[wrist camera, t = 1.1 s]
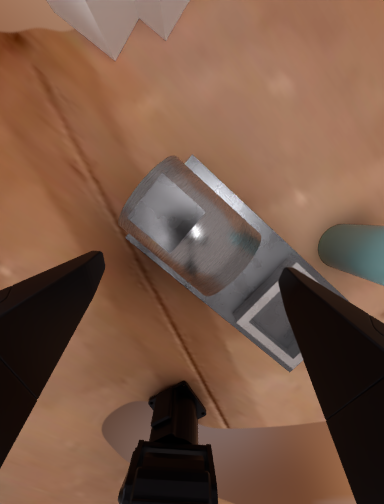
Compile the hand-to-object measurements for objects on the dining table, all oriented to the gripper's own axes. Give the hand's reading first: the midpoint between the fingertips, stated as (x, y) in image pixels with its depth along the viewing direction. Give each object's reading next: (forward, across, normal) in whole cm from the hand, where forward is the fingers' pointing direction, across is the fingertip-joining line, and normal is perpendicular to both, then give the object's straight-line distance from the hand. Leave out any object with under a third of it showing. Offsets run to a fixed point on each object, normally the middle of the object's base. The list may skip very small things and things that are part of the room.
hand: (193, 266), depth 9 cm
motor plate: (+12, -7, +9) cm, 17 cm away
